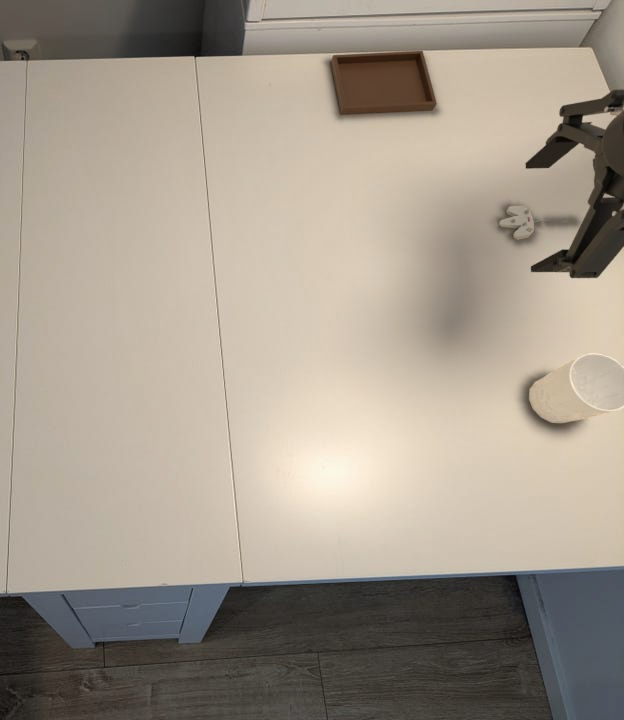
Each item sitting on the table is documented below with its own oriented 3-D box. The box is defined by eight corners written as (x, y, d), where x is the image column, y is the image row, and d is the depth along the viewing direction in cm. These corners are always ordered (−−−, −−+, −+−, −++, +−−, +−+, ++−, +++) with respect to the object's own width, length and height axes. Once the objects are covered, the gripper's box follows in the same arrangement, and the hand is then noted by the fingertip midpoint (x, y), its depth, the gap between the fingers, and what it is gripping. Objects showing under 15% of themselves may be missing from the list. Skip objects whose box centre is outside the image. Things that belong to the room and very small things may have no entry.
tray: (329, 65, 103) (333, 54, 100) (417, 61, 102) (422, 50, 100) (339, 117, 99) (343, 108, 96) (430, 113, 98) (437, 103, 96)
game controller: (489, 216, 91) (498, 207, 89) (550, 196, 92) (561, 186, 90) (508, 245, 89) (518, 236, 87) (570, 224, 90) (581, 214, 88)
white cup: (590, 408, 80) (647, 389, 71) (551, 439, 79) (605, 423, 69) (547, 366, 82) (598, 341, 73) (510, 395, 81) (556, 374, 72)
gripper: (618, -1, 51) (503, 125, 72) (638, 262, 48) (512, 313, 69) (710, -7, 50) (566, 122, 71) (737, 261, 47) (578, 314, 68)
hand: (539, 216), depth 70 cm, fingers open, 13 cm apart
